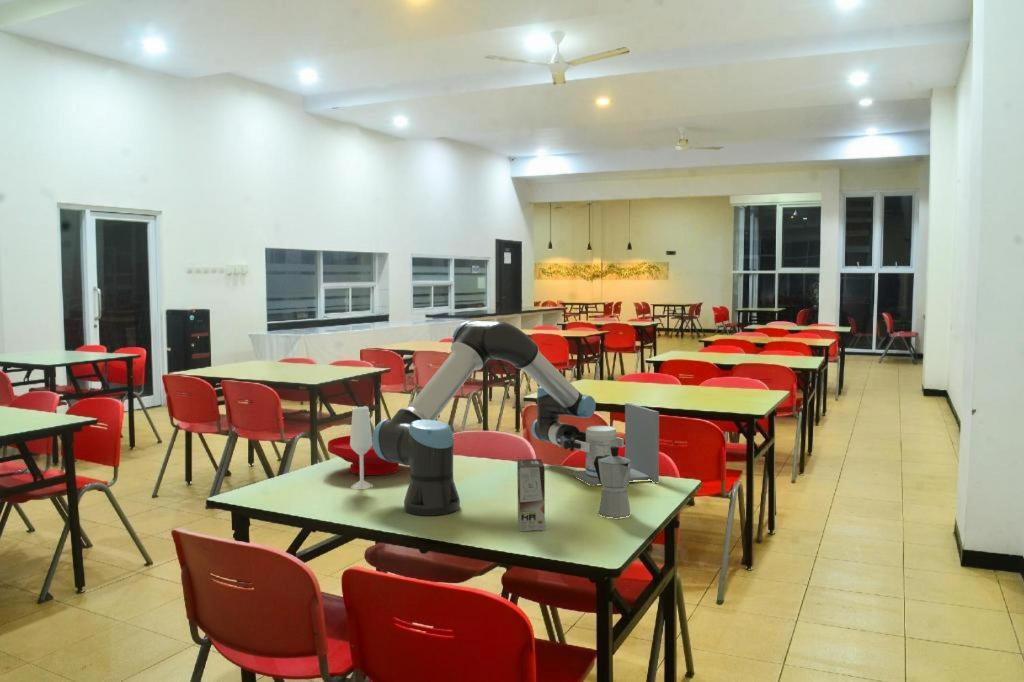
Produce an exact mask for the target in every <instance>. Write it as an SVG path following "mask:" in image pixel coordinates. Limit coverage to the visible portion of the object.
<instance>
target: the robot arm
mask: <svg viewBox="0 0 1024 682" xmlns="http://www.w3.org/2000/svg"><path fill="white" fill-rule="evenodd" d="M452 337H453V338H452V340H451V346H450V350H451V353H450V354H449V356H448V357H447V358H446V359H445V361H444V362H443V363H442V364H441V365H440V367H439V368H438V369H437V371H436V372H435V373H434V374H433V376H432V377H431V378H430V379H429V381H428V382H427V383H426V384H425V385H424V386H423V388H422V389H421V390H420V392H419V393H418V394H417V396H415V398H414V399H413V400H412V401H411V403H410V404H409V405H408V406H407V407H405V408H400V409H398V411H396V413H395V414H394V415H393V416H392V418H391V419H390V418H386V419H384V420H383V419H382V420H381V421H379V422H378V424H377V425H375V427H374V429H373V432H372V434H373V436H372V439H373V443H372V444H373V448H374V451H375V453H376V454H377V455H378V456H379V457H380V458H381V459H384V460H386V461H388V462H391V463H399V465H404V466H409V474H410V475H409V484H408V487H407V490H406V494H405V497H404V501H403V509H404V512H407V513H408V514H411V515H416V516H417V515H418V516H441V515H447V514H451V513H455V512H456V511H458V510H460V508H461V499H460V495H459V492H458V490H457V487H456V484H455V480H454V442H455V441H454V437H453V436H454V434H453V429H452V426H451V425H450V424H448V423H446V422H445V421H444V422H443V421H440V420H437V419H438V417H439V416H440V415H441V413H442V412H443V411H444V409H445V408H446V407H447V406H448V404H449V403H450V402H451V400H452V399H453V398H454V397H455V396H456V394H457V392H458V391H459V390H460V389H461V388H462V386H463V384H464V383H466V381H467V380H468V379H469V377H470V376H471V375H472V373H473V372H474V371H479V370H482V368H483V367H484V366H485V365H486V364H487V362H488V361H489V360H497V361H498V360H499V361H504V362H507V363H508V364H509V363H510V364H511V365H512V366H513V367H514V368H516V369H519V370H523V372H525V373H526V374H527V375H528V376H529V377H530V378H531V379H532V380H533V381H534V382H535V383H536V384H537V385H539V386H538V387H537V391H536V392H537V393H536V394H537V395H536V416H537V417H536V419H535V420H534V421H533V422H532V425H531V429H530V431H531V434H532V435H531V436H533V437H534V438H535V439H536V440H539V441H541V442H544V443H548V444H553V445H557V446H558V447H559V448H561V447H562V448H563V449H565V450H568V449H569V451H570V452H574V451H575V450H578V451H581V452H585V453H586V452H590V443H586V432H584V431H580V429H579V428H578V427H577V426H576V425H573V424H570V423H569V424H568V423H565V422H560V416H566V417H574V418H579V419H581V418H583V419H584V418H585V419H589V418H591V417H592V416H593V415H594V413H595V410H596V400H595V398H594V397H593V396H591V395H588V394H586V393H585V394H582V393H581V392H580V391H579V390H578V389H577V388H576V387H575V386H574V385H573V384H572V383H571V382H570V381H569V380H568V379H567V378H566V377H565V376H564V375H563V374H562V373H561V372H560V371H559V370H558V369H557V368H556V367H555V366H554V365H553V364H552V363H551V362H550V361H549V360H548V359H547V358H546V357H545V356H544V355H543V354H542V353H541V351H540V349H539V346H538V344H537V343H536V342H535V341H534V340H533V339H532V338H530V336H529V335H527V334H526V333H525V332H523V331H522V330H521V329H520V328H518V327H516V326H515V325H513V324H511V323H509V322H506V321H494V320H493V321H490V320H487V321H486V320H470V321H464V322H462V323H460V324H459V325H458V326H457V327H456V328H455V330H454V332H453V333H452ZM616 447H619V448H625V438H621V437H619V436H616Z"/></svg>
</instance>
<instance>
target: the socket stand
mask: <svg viewBox="0 0 1024 682" xmlns="http://www.w3.org/2000/svg"><path fill="white" fill-rule="evenodd" d="M624 458H628V459H629V460H631V461H632V462H631V469H630V476H629V481H633V480H648V479H650V480H652V481H653V482H659V478H660V477H659V476H660V475H659V474H660V473H659V471H660V469H659V466H660V459H659V458H660V411H657V410H654V409H650V408H647V407H644V406H640V405H637V404H633V403H625V402H624ZM573 475H574V476H576V477H577V478H579V479H581V480H583V481H584V482H586V483H588V484H590V485H597V484H600V482H599V478H598V477H593V476H590V475H588V474H587V473H586V470H575V471H572V476H573ZM574 476H573V477H574ZM577 478H576V479H577ZM579 479H578V480H579ZM581 480H580V481H581ZM584 482H583V483H584ZM586 483H585V484H586ZM659 483H660V482H659ZM588 484H587V485H588Z"/></svg>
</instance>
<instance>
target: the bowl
mask: <svg viewBox="0 0 1024 682" xmlns="http://www.w3.org/2000/svg"><path fill="white" fill-rule="evenodd" d="M371 434H372V436H373V433H371ZM350 437H351V434H350V435H345V436H341V437H340V436H339V437H336V438H332V439H330V440H328V442H327V451H328V453H330V454H333V455H334V456H337V457H338V458H341V459H342V460H344V461H346V462H348V463H351V464H350V469H349V470H350V472H351V473H352V474H355V475H360V455H359V454H357V453H356V452H355V451H354V450H353V449H352V448H351V446H350ZM372 443H373V439H372ZM363 460H364V476H383V475H389V473H390V474H393V472H394V473H397V472H398V471H400V464H399V463H391V462H388V461H386V460H384V459H381V458H380V457H379V456H378V455H377V454H376V453H375V451H374V448H373V444H372V446H371V448H370V449H369V450H368V451H367V452H366V453H365V454H364V455H363ZM396 471H397V472H396Z"/></svg>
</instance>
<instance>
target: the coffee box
mask: <svg viewBox="0 0 1024 682" xmlns="http://www.w3.org/2000/svg"><path fill="white" fill-rule="evenodd" d="M516 462H517V463H516V465H517V468H516V469H517V470H516V471H517V472H516V473H517V477H516V478H517V524H518V528H519V531H520V532H532V531H531V530H544V531H545V530H546V528H545V526H546V520H545V519H546V516H545V515H546V514H545V513H546V511H545V505H546V502H545V501H546V499H545V498H546V497H545V496H546V495H545V494H546V491H545V486H546V485H545V483H546V482H545V480H546V479H545V478H546V477H545V473H546V471H545V469H546V467H545V464H544V462H543V461H542V459H541V458H533V459H532V458H529V459H528V458H527V459H517V460H516Z"/></svg>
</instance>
